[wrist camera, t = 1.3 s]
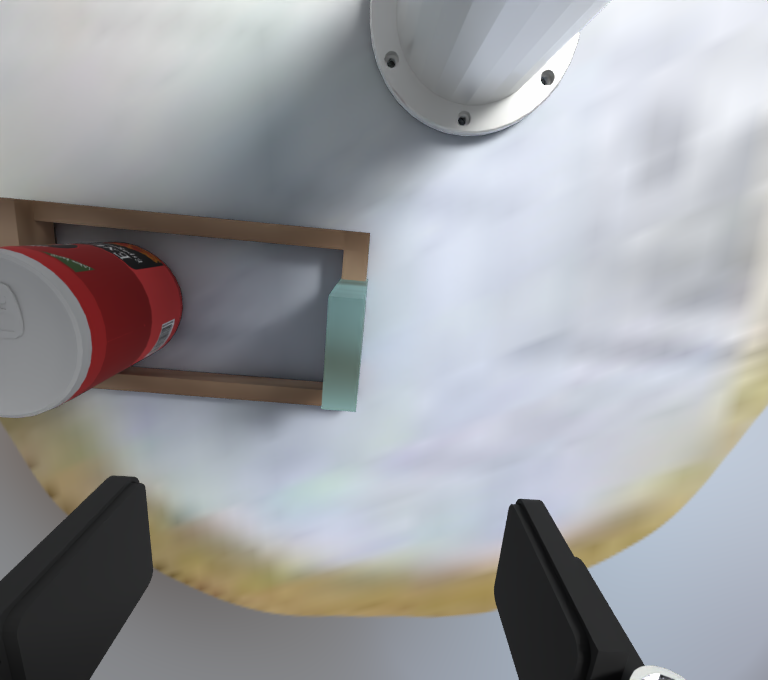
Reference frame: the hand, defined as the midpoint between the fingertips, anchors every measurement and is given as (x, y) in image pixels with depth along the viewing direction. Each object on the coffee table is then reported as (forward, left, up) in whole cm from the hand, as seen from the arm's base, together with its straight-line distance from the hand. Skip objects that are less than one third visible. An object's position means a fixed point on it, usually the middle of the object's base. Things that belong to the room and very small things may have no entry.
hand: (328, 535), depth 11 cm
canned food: (-1, -16, -21) cm, 26 cm away
